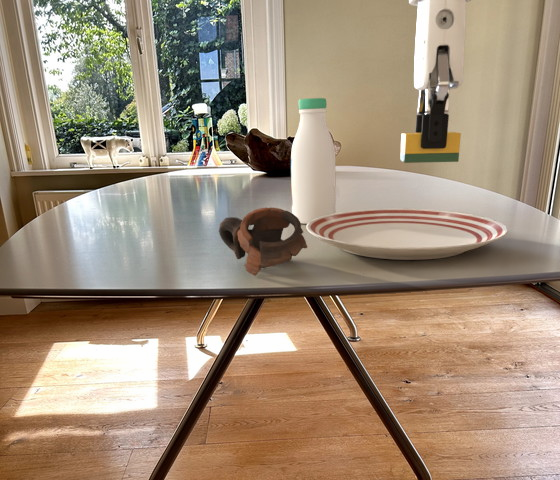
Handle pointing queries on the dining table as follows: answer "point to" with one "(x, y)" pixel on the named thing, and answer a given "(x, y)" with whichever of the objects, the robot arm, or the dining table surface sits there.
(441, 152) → the sponge
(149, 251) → the dining table surface
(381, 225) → the dinner plate
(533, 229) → the dining table surface
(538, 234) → the dining table surface
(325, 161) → the milk bottle
